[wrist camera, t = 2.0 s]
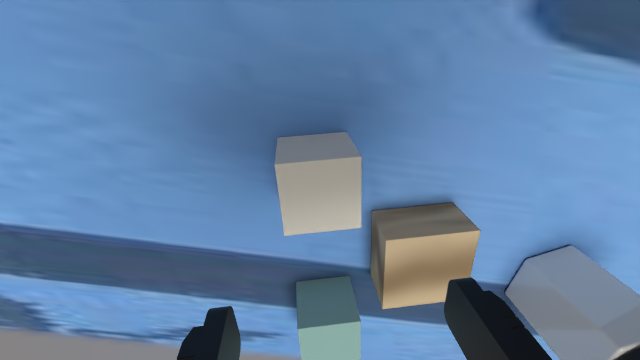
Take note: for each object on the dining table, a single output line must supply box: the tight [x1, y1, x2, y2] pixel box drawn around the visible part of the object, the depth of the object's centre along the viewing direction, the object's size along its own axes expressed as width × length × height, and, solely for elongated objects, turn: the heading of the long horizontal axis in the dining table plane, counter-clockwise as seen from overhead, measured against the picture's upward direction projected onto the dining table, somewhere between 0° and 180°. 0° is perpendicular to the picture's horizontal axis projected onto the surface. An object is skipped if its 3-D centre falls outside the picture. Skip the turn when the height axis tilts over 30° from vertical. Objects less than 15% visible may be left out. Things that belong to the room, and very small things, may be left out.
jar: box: [505, 245, 640, 360], centre depth 25 cm, size 9×8×12 cm
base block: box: [370, 203, 480, 309], centre depth 25 cm, size 7×7×4 cm
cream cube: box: [275, 132, 362, 236], centre depth 20 cm, size 5×5×5 cm
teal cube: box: [296, 276, 361, 360], centre depth 26 cm, size 5×5×5 cm
